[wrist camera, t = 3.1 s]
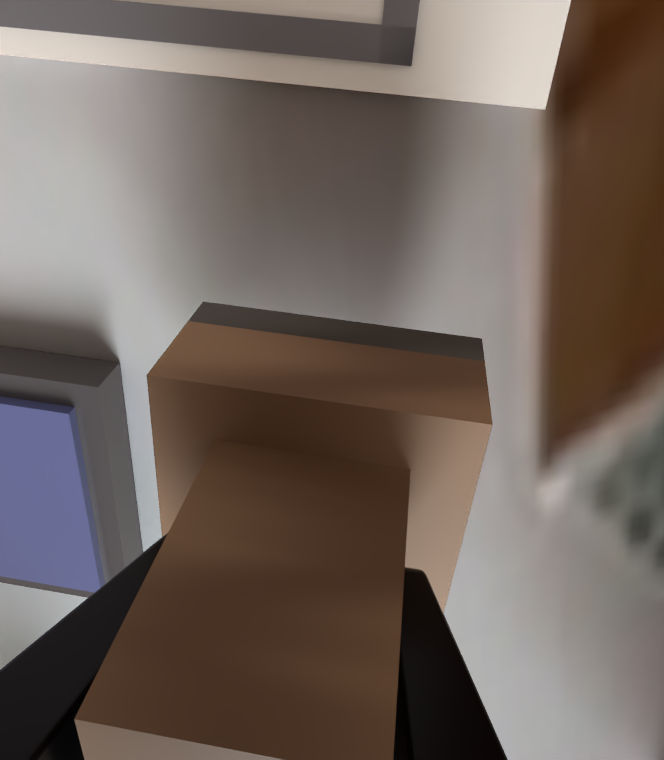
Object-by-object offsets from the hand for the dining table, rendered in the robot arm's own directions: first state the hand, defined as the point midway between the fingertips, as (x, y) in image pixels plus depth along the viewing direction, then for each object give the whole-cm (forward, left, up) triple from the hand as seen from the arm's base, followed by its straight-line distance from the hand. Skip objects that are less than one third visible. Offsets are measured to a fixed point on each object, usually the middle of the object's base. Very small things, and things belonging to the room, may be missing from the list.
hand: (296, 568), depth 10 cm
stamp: (0, 0, -4) cm, 4 cm away
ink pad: (+10, +5, -7) cm, 13 cm away
